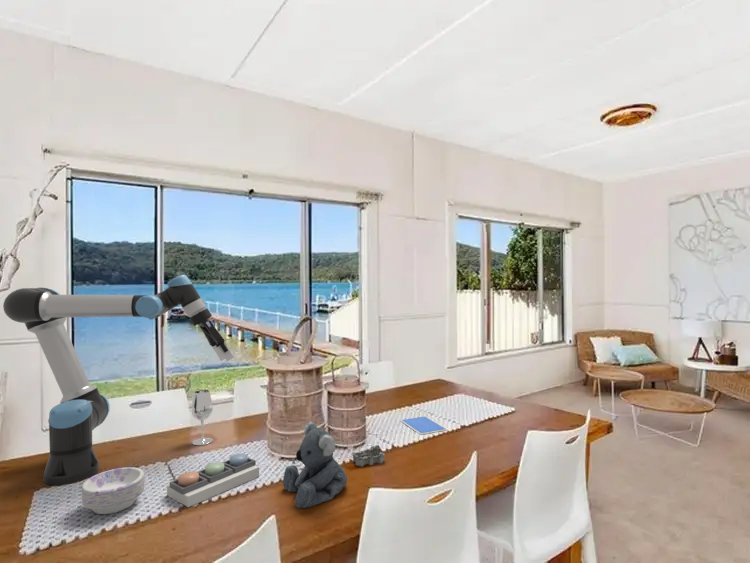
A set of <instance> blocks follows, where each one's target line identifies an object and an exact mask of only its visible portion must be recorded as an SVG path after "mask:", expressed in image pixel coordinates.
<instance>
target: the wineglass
mask: <svg viewBox="0 0 750 563" xmlns="http://www.w3.org/2000/svg"><path fill="white" fill-rule="evenodd" d="M190 410H191V415H192V417H193V418H194V419H195V420H197V421H200V424H201V437H200V438H197V439H195V440H193V441H192V445H193V446H205V445H208V444H211V443H213V441H214V439H213V438H211V437H205V435H204V434H205V432H204V422H205V421H206V420H207V419H208V418H210V416H211V415H212V413H213V402H212V397H211V393H210V390H209V389H199V390H196V391H194V392H193V396H192V403H191V409H190Z"/></svg>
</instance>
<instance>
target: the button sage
mask: <svg viewBox="0 0 750 563" xmlns="http://www.w3.org/2000/svg"><path fill="white" fill-rule="evenodd" d="M222 462H223V461H222ZM222 462H221V461H220V462H219V461H216V462H215V461H214V462H210V463H208V464H206V465H205V467H204V469H205V474H206V475H208V476H214V475H218V474H220V473H223V472H224V463H222Z"/></svg>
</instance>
